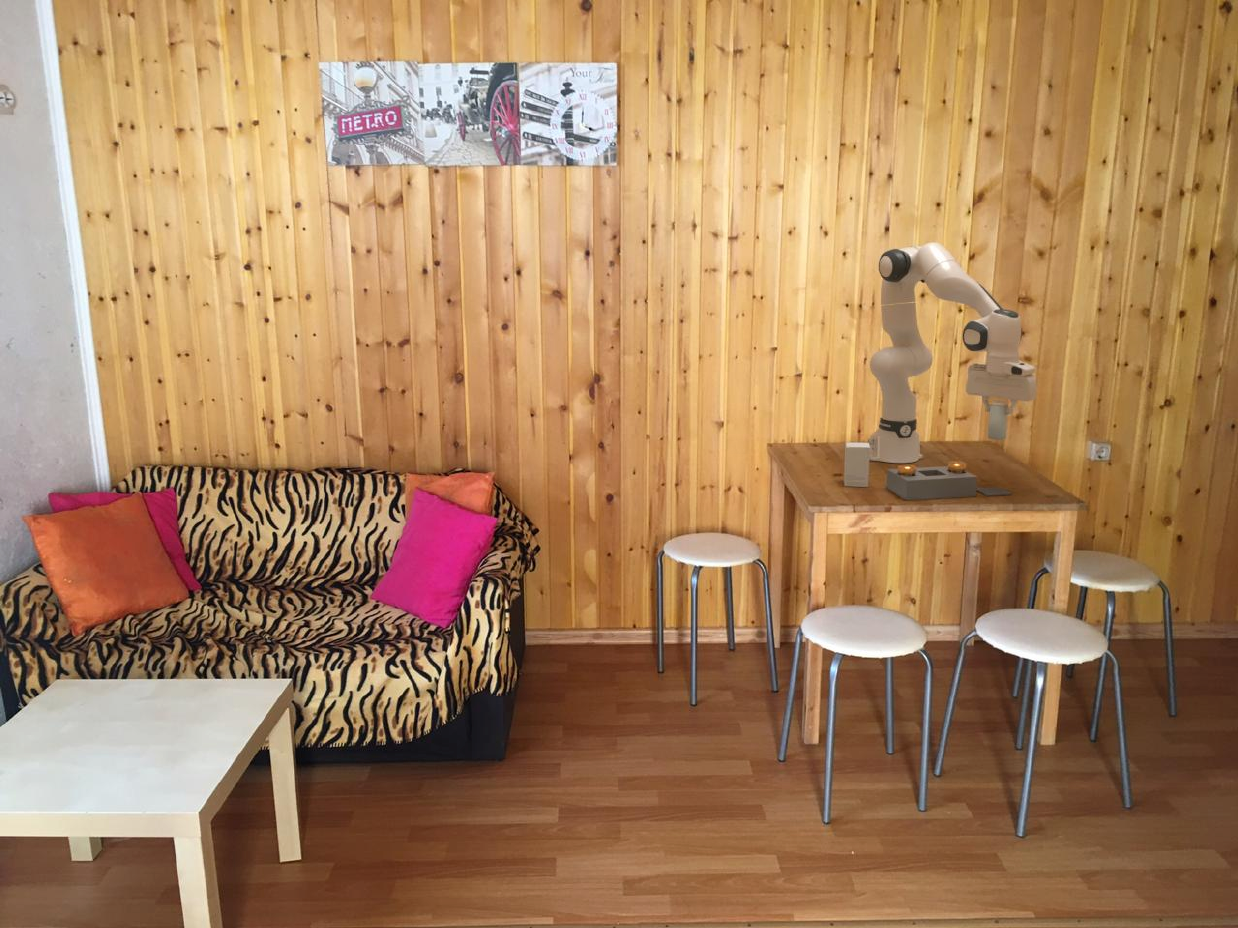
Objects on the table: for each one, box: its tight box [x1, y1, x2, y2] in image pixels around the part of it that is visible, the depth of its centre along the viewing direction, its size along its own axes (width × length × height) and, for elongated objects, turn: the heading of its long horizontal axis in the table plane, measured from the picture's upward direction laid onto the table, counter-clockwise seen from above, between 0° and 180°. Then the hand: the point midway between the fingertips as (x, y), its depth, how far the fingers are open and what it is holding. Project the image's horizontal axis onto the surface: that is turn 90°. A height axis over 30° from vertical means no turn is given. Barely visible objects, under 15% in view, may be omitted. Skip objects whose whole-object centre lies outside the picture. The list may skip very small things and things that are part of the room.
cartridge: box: [987, 399, 1009, 441], centre depth 299 cm, size 5×5×11 cm
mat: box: [976, 486, 1013, 497], centre depth 304 cm, size 8×8×1 cm
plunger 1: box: [897, 463, 917, 477], centre depth 303 cm, size 5×5×8 cm
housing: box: [885, 465, 978, 501], centre depth 305 cm, size 14×22×6 cm, turn 99°
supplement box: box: [843, 441, 870, 488], centre depth 314 cm, size 7×7×13 cm
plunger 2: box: [947, 460, 967, 474], centre depth 305 cm, size 5×5×8 cm
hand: (998, 412), depth 298 cm, fingers closed on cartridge, 5 cm apart
